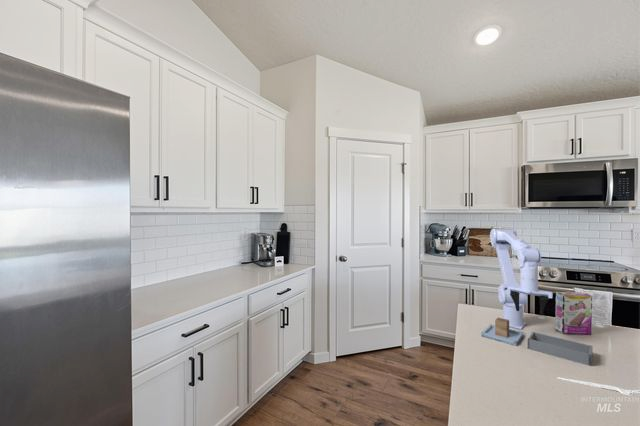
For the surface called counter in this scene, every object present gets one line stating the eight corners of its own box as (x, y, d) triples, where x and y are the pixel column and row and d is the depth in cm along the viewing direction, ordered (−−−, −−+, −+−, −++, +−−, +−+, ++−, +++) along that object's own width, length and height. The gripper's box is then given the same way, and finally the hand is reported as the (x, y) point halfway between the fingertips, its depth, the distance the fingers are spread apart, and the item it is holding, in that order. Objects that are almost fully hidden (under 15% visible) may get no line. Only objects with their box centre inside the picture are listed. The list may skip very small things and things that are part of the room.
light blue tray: (490, 327, 127) (490, 324, 127) (523, 336, 118) (523, 332, 118) (481, 336, 118) (481, 332, 118) (516, 345, 110) (516, 341, 110)
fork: (555, 377, 90) (555, 371, 90) (646, 394, 81) (646, 388, 81) (558, 383, 87) (558, 376, 87) (653, 401, 78) (652, 394, 78)
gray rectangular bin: (532, 340, 114) (532, 331, 114) (592, 356, 102) (592, 346, 102) (527, 348, 107) (527, 339, 107) (591, 365, 95) (591, 355, 95)
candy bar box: (563, 334, 120) (563, 294, 120) (554, 329, 125) (554, 291, 125) (592, 335, 119) (592, 295, 118) (583, 330, 123) (583, 292, 123)
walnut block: (497, 331, 121) (497, 317, 121) (509, 334, 118) (509, 320, 118) (495, 334, 118) (495, 320, 118) (506, 337, 115) (506, 322, 115)
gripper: (505, 277, 118) (505, 310, 118) (550, 282, 108) (550, 319, 108) (509, 274, 123) (509, 307, 123) (553, 280, 113) (553, 315, 113)
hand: (529, 312), depth 115 cm, fingers open, 7 cm apart
